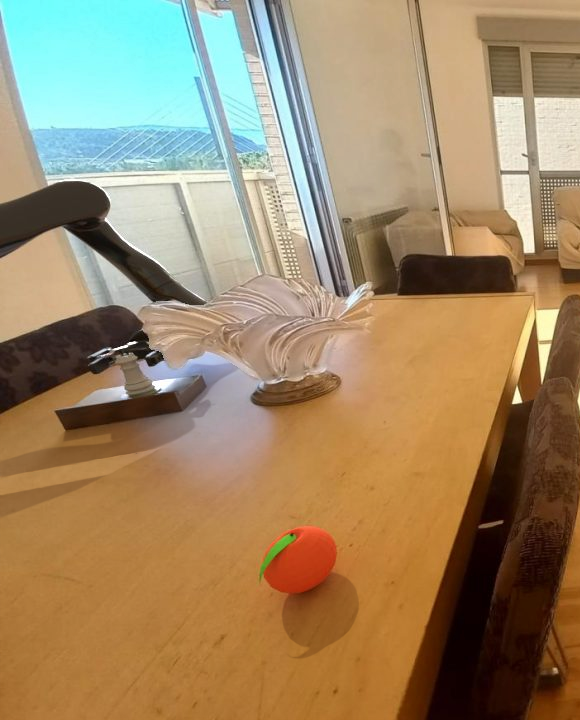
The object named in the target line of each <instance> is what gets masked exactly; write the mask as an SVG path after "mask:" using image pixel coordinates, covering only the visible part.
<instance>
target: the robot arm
mask: <svg viewBox="0 0 580 720" xmlns="http://www.w3.org/2000/svg"><path fill="white" fill-rule="evenodd" d="M110 210H111V199H110V196H109V195H108V193H107V192H106V191H105V190H104V189H103V188H102V187H100V186H98V185H97V184H95V183H93V182H90V181H86V180H82V179H64V180H59V181H57V182H54V183H52V184H48V185H47V186H45V187H43V188H40V189H38V190H35V191H33V192H30V193H27V194H25V195H23V196H20V197H18V198H15V199H11V200H8V201H4V202H1V203H0V259H3V258H5V257H7V256H8V255H10V254H12V253H13V252H15V251H17V250H19V249H20V248H22V247H24V246H25V245H27V244H28V243H30V242H32V241H33V240H35V239H36V238H38V237H40V236H42V235H43V234H45V233H47V232H50V231H52V230H55V229H58V228H63V229H64V230H66V231H67V232H69V234H71V235H73V236H74V237H75V238H77V239H79V241H81V242H83V243H84V244H85V245H87V246H88V247H89V248H90V249H92V250H93V251H95V252H96V253H97V254H98V255H99V256H101V257H102V258H104V259H105V260H106V261H107V262H108V263H110V264H111V265H112V266H113V267H114V268H115V269H117V270H118V271H119V272H120V274H122V275H123V276H124V277H125V278H126V279H128V281H129V282H131V283H132V284H133V285H134V286H135V287H136V288H137V289H138V290H139V291H140V292H141V293H142V294H143V295H144V296H146V297H147V299H149V300H150V301H151V302H152V303H154V302H156V301H172V302H175V301H176V302H180V303H182V304H183V303H185V304H189V305H204V304H206V303H207V302H209V301H208V300H206V299H204V298H203V297H201V296H199V295H197V294H196V293H195V292H193V291H191V290H190V289H189V288H187V287H185V286H184V285H182V283H180V282H179V281H178V280H177V278H175V276H173V275H172V274H171V273H170V272H169V271H168V270H167V269H166V268H165V267H164V266H163V265H162V264H161V263H159V261H157V260H156V259H154V258H153V257H151V256H149V255H148V254H146V253H145V252H143V251H142V250H140V249H138V248H137V247H135V246H133V245H132V244H131V243H130V242H128V241H127V240H125V239H124V237H122V236H121V234H119V233H118V232H117V231H116V229H114V227H113V226H112V225H111V223H110V222H109V221H108V219H107V217H108V216H109V213H110ZM125 353H126V354H127V355H129V354H128V353H133V354H134V355H135V356H137V357H138V358H137V360H136V362H137V363H139V362H143V361H145V363H146V365H147V367H148V368H153V367H155V366H157V365H158V364H160V363H162V362H164V361H165V360H164V358H163V355H162V353H161V352H159V351H155V350H151V349H150V348H149V338H148V336H147V335H146V334H145V333H144V332H143V328H141V329H139V330H137V331H135V332H134V333H133V334H132V335H131V336H130V338H129V341H128V343H126V344H125V345H123V346H120V347H119V346H118V347H116V348H112V346H111V347H110V346H109V347H107V346H106V347H105V348H102V349H101V350H99V351H96V352H95V353H93V354H91V355H88V356H87V357H86V358H87V360H88V362H89V364H87V368H88V369H89V371H90V373H92V374H93V375H100V374H101V373H103V372H105V371H106V370H108V369H110V368H112V367H115V366H120V365H119V364H117V363H115V361H116V356H118V355H121V356H124V355H123V354H125ZM165 362H166V361H165Z"/></svg>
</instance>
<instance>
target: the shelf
mask: <svg viewBox="0 0 580 720" xmlns="http://www.w3.org/2000/svg"><path fill="white" fill-rule="evenodd" d="M153 385H155V388H154V390H152V391H150V392H148V393H145V394H141V395H136V396H130V395H128V394H126V392H127V390H124V386H125V385H121V386H114V387H108V388H107V387H106V388H101V389H96V390H94V391H92V392H91V393H89V394H88V395H87V396H85V397H84V398H82V399H81V400H80V401H77V402H76V403H75V404H74V405H71V406H65V407H58V408H56V409H54V413H55V415H56V416H57V418H58V420H59V422H60V424H61V426H62V427H63V429H64V431H69V430H75V429H81V428H87V427H94V426H99V425H107V424H112V423H119V422H125V421H130V420H136V419H143V418H148V417H155V416H161V415H167V414H174V413H179V412H183V411H184V410H185V409H186V408H187V407H188V406H190V404H191V403H192V402H193V401H194V400H195V399H196V398H197V397H198V396H199V395H200V394H201V393H202V392H203V391H204V390H205V389H206V388H207V387H208V386H207V384H206V382H205V379H204V377H203V375H202V374H198V375H196V374H195V375H190V376H184V377H177V378H169V379H163V380H155V381H153Z"/></svg>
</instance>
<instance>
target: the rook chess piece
mask: <svg viewBox="0 0 580 720" xmlns="http://www.w3.org/2000/svg"><path fill="white" fill-rule="evenodd" d="M128 354H129V355H127V354H126V353H125V354H123V355H124V356H122V355H118V356H116V361H115V363H117V364H119V365H118V366H119V367H120V368H119V369H120V371H122V372H123V376H124V380H125V382H124V385H123V386H124V390H127V392H126V394H128V395H130V396H136V395H141V394H145V393H148V392H150V391H152V390H154V388H155V385H153V382H154V381H153V380H152V379H150V378H149V377H147V376H146V375H145V374H144V372H143V371H142V369H141V368H140V363H139V362H137V361H136V360H137V358H138V357H137V356H135V355H134V354H133V353H128Z"/></svg>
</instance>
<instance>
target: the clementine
mask: <svg viewBox="0 0 580 720" xmlns="http://www.w3.org/2000/svg"><path fill="white" fill-rule="evenodd" d="M337 555H338V550H337V544H336V541H335V539H334V538H333V536H332V535H331V534H330V533H328V532H327V531H326V530H325V529H323V528H320V527H317V526H312V525H306V526H299V527H295V528H292V529H290V530H287V531H285V532H283V533H281V534H280V535H279V536H278V537H277V538H276V539H275V540H273V541H272V542H271V543H270V545H269V546H268V547H267V549H266V551H265V553H264V556H263V559H262V563H261V566H260V570H259V575H258V581H259V582H258V583H259V585H258V586H260V585H261V581H262V578H264V580H265V581H266V582H267V584H268V585H269V586H270V588H272V589H274V590H275V591H277V592H280V593H284V594H293V595H295V594H301V593H303V592H307V591H310V590H312V589H314V588H315V587H317V586H319V585H320V584H321V583H323V582H324V581H325V580H326V579H327V578H328V576H329V575H330V574H331V572H332V570H333V568H334V567H335V565H336V560H337V557H338V556H337ZM262 576H263V577H262Z"/></svg>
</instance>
